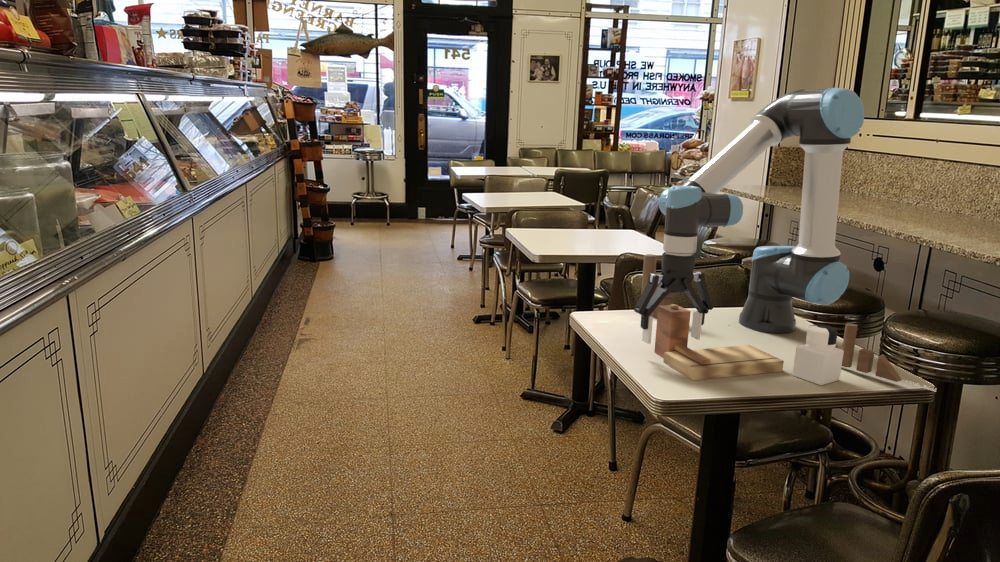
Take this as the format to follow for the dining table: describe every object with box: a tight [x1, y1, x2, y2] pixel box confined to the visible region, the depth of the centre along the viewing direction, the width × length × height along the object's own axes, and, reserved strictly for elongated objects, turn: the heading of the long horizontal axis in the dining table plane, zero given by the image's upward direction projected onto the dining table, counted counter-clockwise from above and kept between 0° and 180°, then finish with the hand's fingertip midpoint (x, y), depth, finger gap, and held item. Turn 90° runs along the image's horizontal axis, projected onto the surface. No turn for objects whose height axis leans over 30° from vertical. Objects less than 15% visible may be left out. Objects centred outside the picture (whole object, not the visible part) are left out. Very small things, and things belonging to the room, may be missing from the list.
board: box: [662, 344, 785, 381], centre depth 158 cm, size 24×12×3 cm, turn 109°
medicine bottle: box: [792, 323, 844, 386], centre depth 152 cm, size 7×7×12 cm
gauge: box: [653, 303, 710, 365], centre depth 158 cm, size 5×17×13 cm, turn 19°
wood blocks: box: [835, 323, 937, 393], centre depth 155 cm, size 25×3×10 cm, turn 38°
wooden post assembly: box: [640, 253, 675, 319], centre depth 197 cm, size 4×11×18 cm, turn 32°
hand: (671, 340), depth 164 cm, fingers open, 13 cm apart
